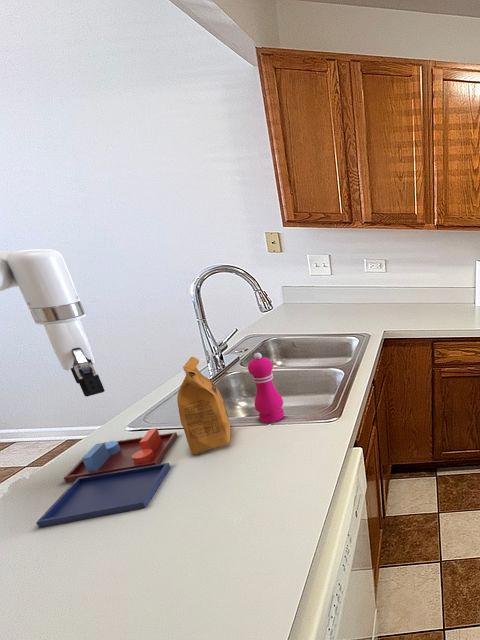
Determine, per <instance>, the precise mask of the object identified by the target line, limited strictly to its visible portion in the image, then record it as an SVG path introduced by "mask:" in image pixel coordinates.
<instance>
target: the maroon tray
mask: <svg viewBox="0 0 480 640" xmlns="http://www.w3.org/2000/svg"><path fill="white" fill-rule="evenodd" d="M159 435H160V438H161V440H162V442H161V443H160V445H159V446H158V447H157V449H156V450H155V452H154V453H153V454H154V457H155V458H154V459H153V460H152V461H151V462H149V463H143V464H137V465H135V463H134V461H133V459H132V455H133V454H134V453H136V452H138V451H140V450H142V448H141V445H140V443H139V442H140V441H141V439H142V438H143V437H144V436H141V437H135V438H134V437H133V438H128V439H121V440H116V441H117V442H118V444H119V446H120V451H119V452H118V453H116V454H114V455H111V456H110V457H109V458H108V459H107V461H106V462H105V463H104V464H103V465H102V466H101V467H100V468H99V470H98V471H95V472H89V473H88V471H87V469H86V466H85V464H84V462H83V460H82V458H81V459H80V461H78V462H77V464H75V465H74V466H73V467H72V468H71V469H70V471H69V472H67V474H66V475H65V476H64V477H63V480H64V483H65V484H67V483H73V482H74V481H75V480H76V479H77V478H80V477H86V476H92V475H98V474H104V473H110V472H116V471H122V470H128V469H134V468H140V467H146V466H152V465H158V464H161V462H162V461H163V460H164V458H165V457H166V455H167V454H168V452H169V450H170V449H171V447H172V445H174V443H175V442H176V440H177V438H179V436H178V433H177V432H176V431H174V432H168V433H161V434H159Z"/></svg>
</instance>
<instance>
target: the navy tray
mask: <svg viewBox="0 0 480 640" xmlns="http://www.w3.org/2000/svg"><path fill="white" fill-rule="evenodd" d="M170 469H171V466H170V463H169V462H164V463H160V464H158V465H152V466H146V467H140V468H134V469H128V470H122V471H116V472H110V473H104V474H98V475H92V476H86V477H80V478H77V479H76V480H75V481H74V482H71V485H69V487H67V488H66V489H65V491H63V493H62V494H61V495H60V496H59V497H58V498H57V499H56V501H54V502H53V504H52V505H50V507H49V508H48V509H47V510H46V511H45V512H44V513H43V514H42V516H41V517H40V518H38V520H37V521H36V525H37V527H38V528H39V529H41V528H46V527H52V526H56V525H62V524H67V523H72V522H78V521H83V520H88V519H89V520H90V519H94V518H98V517H104V516H110V515H114V514H120V513H124V512H125V513H126V512H130V511H135V510H140V509H145V508H147V506H148V504H149V503H150V501H151V499H152V498H153V496H154V495H155V493H156V492H157V490H158V488H159V486H160V485H161V483H162V482H163V480H164V479H165V477H166V476H167V474H168V472H169V471H170Z"/></svg>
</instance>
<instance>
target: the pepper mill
mask: <svg viewBox="0 0 480 640" xmlns="http://www.w3.org/2000/svg"><path fill="white" fill-rule="evenodd" d="M253 357H254V358H252V359H251V360H250V361H249V362H248V364H247V371H248V373H249V374H250V375H251V379H252V382H253V383H254V384H255V386H256V394H255V398H254V409H255V410H256V412H258V417H259V421H260V422H261V423H264V424H271V423H274V422H278V421H280V420H282V418H284V416H285V411H284V409H283V408H282V407H283V406H284V399H283V397H282V395H281V394H280V393H279V391H278V390H277V389H276V387H275V385H274V382H273V378H274V374H273V372H272V371H273V369H274V366H273V365H274V364H273V362H272V360H271V359H270V358H268V357H264V356H262V354H261V353H260V352H256V353H254V355H253Z"/></svg>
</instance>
